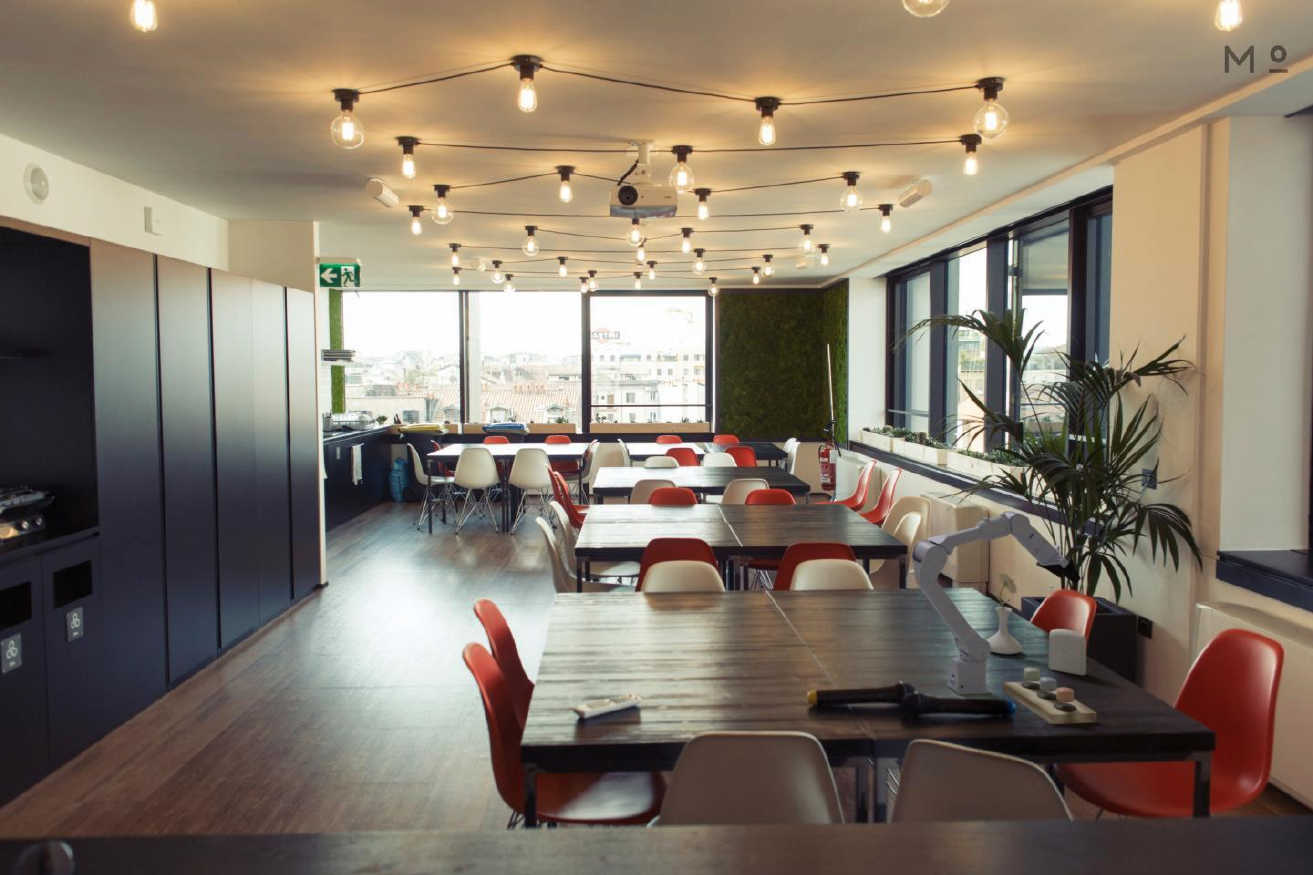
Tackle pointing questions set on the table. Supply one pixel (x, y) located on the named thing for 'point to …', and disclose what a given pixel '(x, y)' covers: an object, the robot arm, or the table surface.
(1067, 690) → the button terracotta
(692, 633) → the table surface
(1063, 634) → the photo printer
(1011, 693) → the button panel
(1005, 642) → the flower in vase
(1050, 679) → the button slate
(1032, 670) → the button sage
